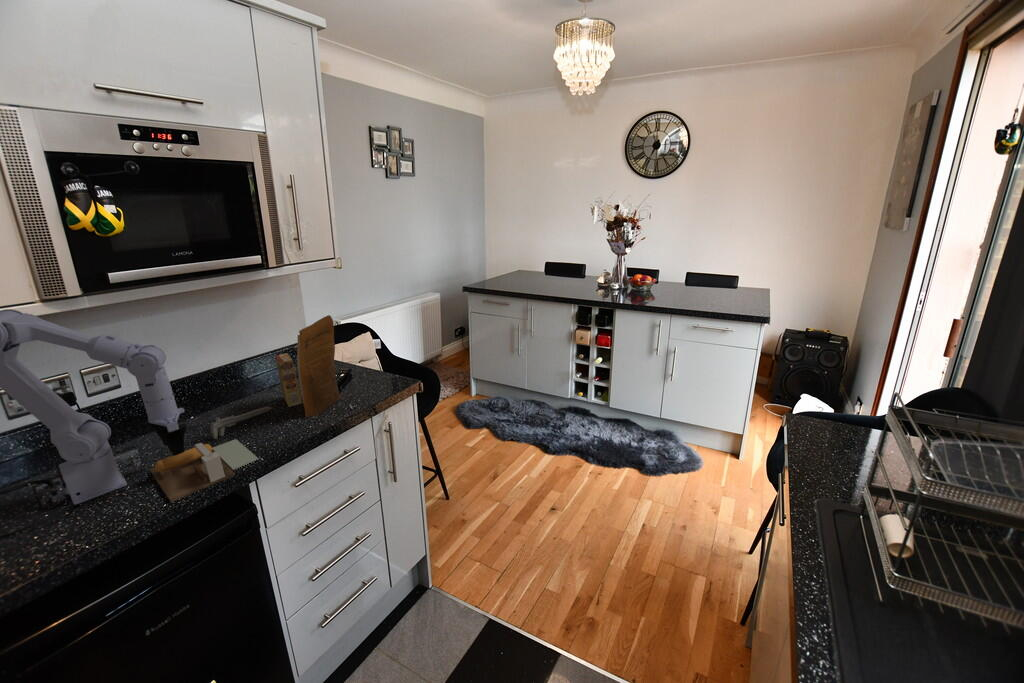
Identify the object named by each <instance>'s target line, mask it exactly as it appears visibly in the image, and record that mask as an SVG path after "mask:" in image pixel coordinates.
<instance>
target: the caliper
mask: <svg viewBox="0 0 1024 683" xmlns="http://www.w3.org/2000/svg"><path fill="white" fill-rule="evenodd" d="M272 409H273V407H271V406H270V407H269V406H264V407H261V408H257V409H255V410H251V411H248V412H246V413H245V412H244V413H242V414H239V415H236V416H234V415H230V416H228V417H223V418H220V417H219V416H216V418H212V422H210V432H211V436H212V439H214V440H218V437H219V436H220V437H219V438H222V436H223V437H224V434H225V430H226V427H227V428H229V427H233V426H236V423H237V422H241V421H244V420H246V419H249V418H252V417H257V416H259V415H261V414H265V413H267V412H269V411H270V410H272Z"/></svg>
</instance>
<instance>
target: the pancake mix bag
mask: <svg viewBox="0 0 1024 683" xmlns="http://www.w3.org/2000/svg"><path fill="white" fill-rule="evenodd" d="M333 320H334V319H333V318H332V316H331V315H326V316H324V317H322V318H320V319H318V320H316V321H315V322H314V323H312V324H310V325H308V326H306V327H304V328H302V329H301V330H298V333H299V334H297V343H296V344H297V346H296V347H297V351H296V352H297V357H296V358H297V370H298V377H299V378H298V379H299V385H300V389H301V397H302V398H301V399H302V401H303V402H302V403H303V407H304V411H305V412H304V414H305V418H309V417H315V416H318V415H320V414H322V413H323V412H325V411H326V410H327V409H329V408H330V407H332V406H333V405H334V404H336V403H338V402H339V401H341V394H340V392H339V387H338V386H339V385H338V382H337V374H336V367H335V365H336V364H335V356H336V355H335V354H336V345H335V344H336V343H335V326H334V321H333Z"/></svg>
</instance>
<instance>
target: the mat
mask: <svg viewBox="0 0 1024 683" xmlns="http://www.w3.org/2000/svg"><path fill="white" fill-rule="evenodd" d="M212 451H213V452H216V453H217V454H218V455H219V456H220V459H221V460H222V461H223V462H224V463H225V464H226V465H227V466H228V467H229V468H230V469H231V470H232V471H233V470H234V471H236V470H238V468H239V469H241V468H243V467H242V466H244V467H246V466H248V465H250V464H249V463H251V464H253V463H255V462H254V461H256V460H258V461H259V458H258V456H256V454H254V453H253V452H252V451H251V450H249V449H248V448H247V447H246V446H245V445H244V444H242V443H241V442H240V441H239V440H238V439H236V438H235V439H232V440H230V441H226V442H225V443H222V444H218V445H217V446H213V447H212ZM252 462H253V463H252ZM256 462H257V461H256ZM247 464H248V465H247ZM245 465H246V466H245ZM240 467H241V468H240ZM235 469H236V470H235Z"/></svg>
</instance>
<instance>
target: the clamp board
mask: <svg viewBox="0 0 1024 683" xmlns="http://www.w3.org/2000/svg"><path fill="white" fill-rule="evenodd" d="M213 452H214V451H213V450H212V452H211V453H213ZM221 463H222V467H223V470H224V474H225V477H223V478H221V479H218V480H216V481H214V482H210V481H209V480H208V479H207V475H206V473H205V469H204V466H203V462H202V459H201V458H200V459H197V460H194V461H192V462H189V463H186V464H184V465H181V466H178V467H176V468H173V469H168V470H165V471H162V472H158V471H157V470H156V469H155V466H154V467H152V468H149V472H150V473H151V475H152V476H153V478H154V479H155V481H156V482H157V484H158V486H160V488H161V490H162V491H163V493H164V494H165V495H166V498H167V499H168V500H169V502H170V503H173V502H175V501H177V500H179V499H182V498H185V497H187V496H189V495H192V494H194V493H196V492H199V491H201V490H203V489H206V488H208V487H210V485H211V486H213V485H216V484H217V483H220V482H222V481H225V480H227V479H229V478H232V477H234V476H235V472H234V471H233V470H232V469H231V468H230V467H229V466H228V465H227V464H226V463H225V462H224V461H223V460H222V459H221Z"/></svg>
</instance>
